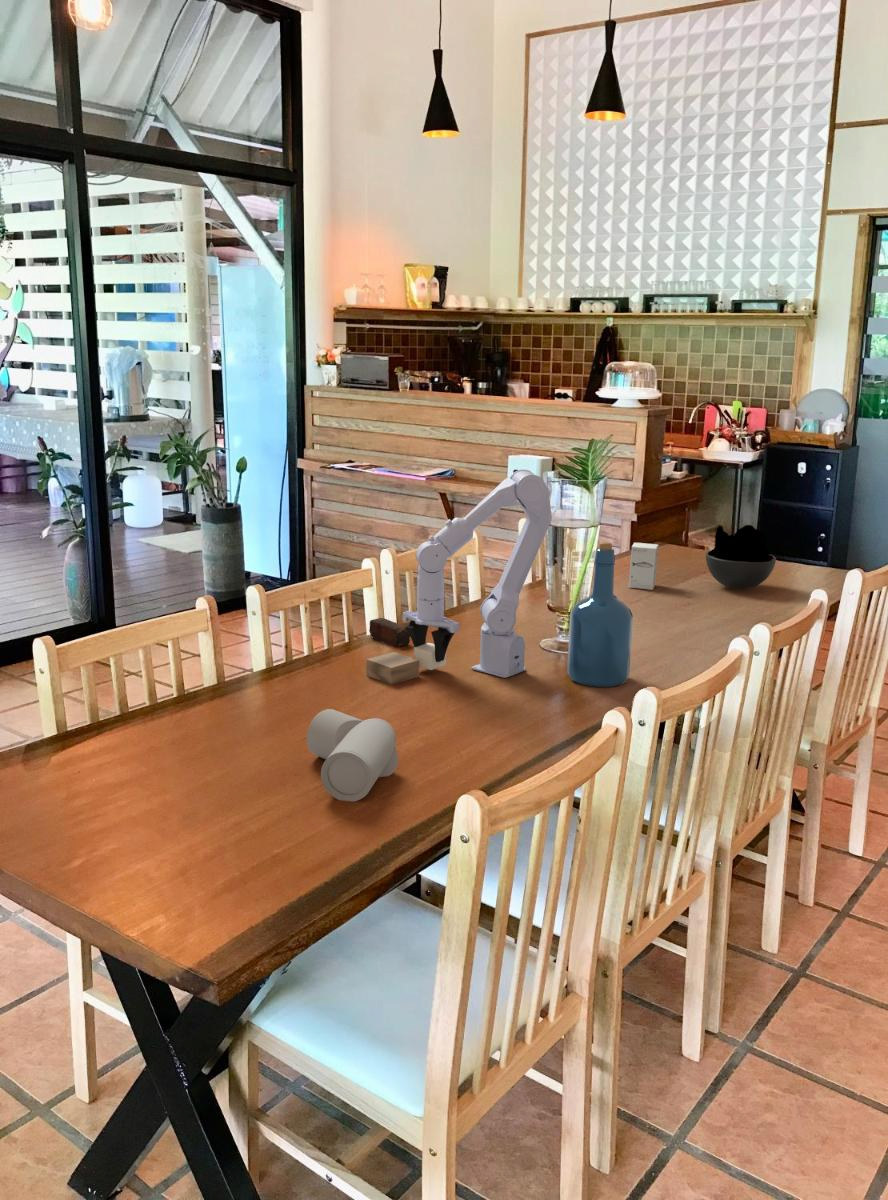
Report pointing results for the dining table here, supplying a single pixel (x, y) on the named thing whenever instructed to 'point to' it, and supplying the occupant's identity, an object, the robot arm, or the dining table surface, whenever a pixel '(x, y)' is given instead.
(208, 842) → the dining table surface
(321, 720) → the grey cylindrical cross piece
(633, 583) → the supplement box
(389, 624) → the brick
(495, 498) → the robot arm
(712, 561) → the coal bowl
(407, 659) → the base
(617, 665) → the wine bottle
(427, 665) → the block
